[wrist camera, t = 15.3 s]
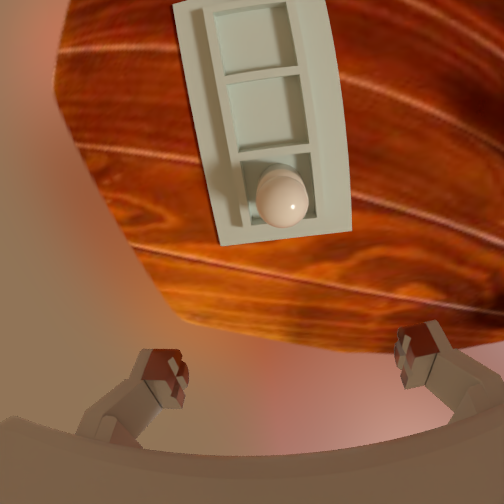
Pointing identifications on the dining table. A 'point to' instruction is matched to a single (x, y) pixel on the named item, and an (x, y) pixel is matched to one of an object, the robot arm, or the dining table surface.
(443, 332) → the robot arm
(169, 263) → the dining table surface
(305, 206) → the egg
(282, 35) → the egg tray
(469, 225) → the dining table surface
